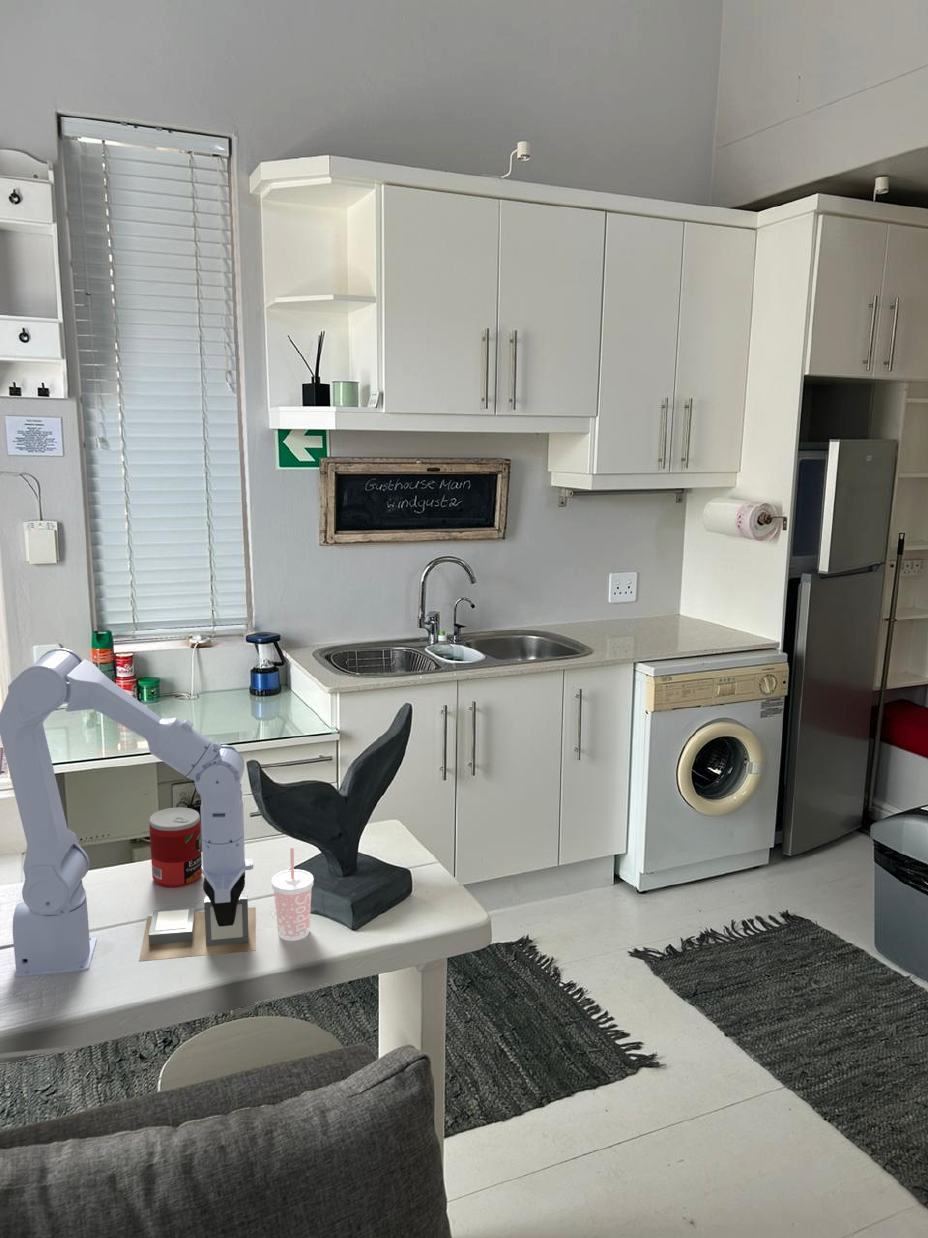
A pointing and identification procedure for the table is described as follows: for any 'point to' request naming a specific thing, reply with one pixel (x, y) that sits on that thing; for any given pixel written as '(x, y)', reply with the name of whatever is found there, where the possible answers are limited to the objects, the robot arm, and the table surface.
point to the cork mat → (196, 942)
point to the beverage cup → (293, 901)
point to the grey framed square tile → (172, 925)
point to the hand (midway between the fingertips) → (226, 923)
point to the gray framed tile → (227, 933)
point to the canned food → (175, 847)
